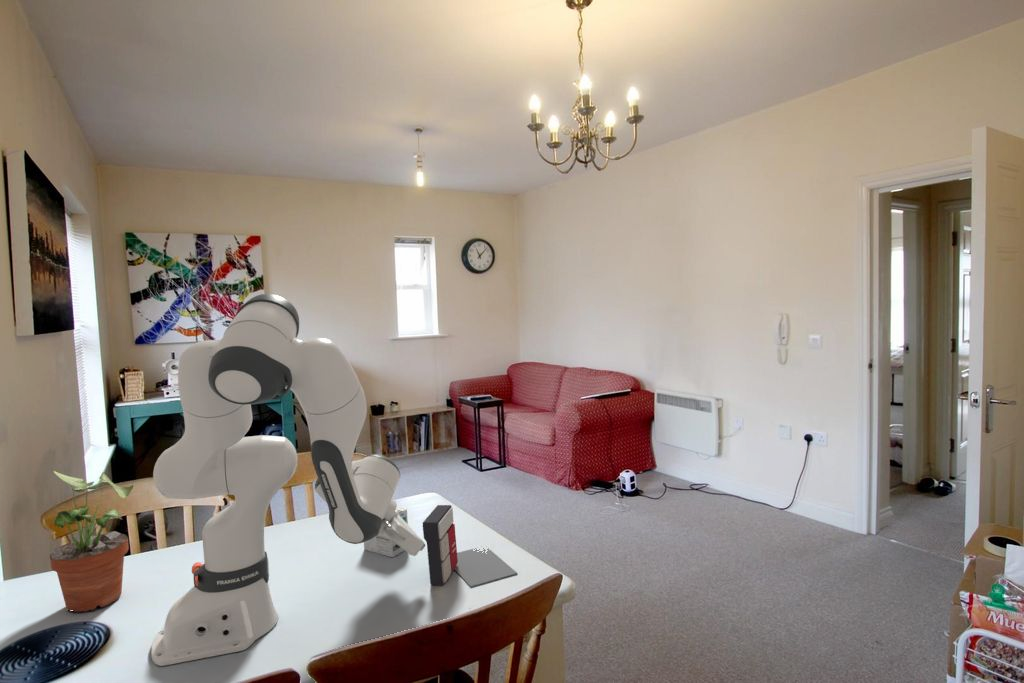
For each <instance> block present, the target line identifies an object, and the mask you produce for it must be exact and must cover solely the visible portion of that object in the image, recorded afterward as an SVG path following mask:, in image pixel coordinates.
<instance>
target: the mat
mask: <svg viewBox="0 0 1024 683" xmlns="http://www.w3.org/2000/svg"><path fill="white" fill-rule="evenodd" d="M476 548H477V547H475V549H476ZM473 549H474V548H471V549H466V550H462V551H459V552H458V551H457V559H458V563H457V564H456V566H455V568H454V569H453V571H454V572H456V573H457V575H458V576H460V577H461V579H462V580H463V581H464V582H465V583H466V584H467V585H468V587H470V588H474V587H477V586H480V585H484V584H488V583H492V582H496V581H498V579H499V580H501V579H502V580H503V579H506V578H508V576H509V577H513V576H516V575H518V572H517V571H516V570H515V569H514V568H512V567H511V566H510V565H509V564H507V563H506V562H505V561H504V560H503V559H502V558H501V557H499V556H498V555H497V554H496V553H495V552H493V550H491V549H490V548H489V547H488V549H487V550H488V551H487V552H486V553H487V554H486V553H485V551H486V550H485V549H484V548H483V549H484V550H483V551H484V552H483V551H479V550H480V549H479V550H477V549H476V550H475V549H474V550H475V551H473ZM489 549H490V550H489ZM477 551H479V552H477ZM482 552H483V553H482ZM505 577H506V578H505Z"/></svg>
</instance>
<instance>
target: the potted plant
mask: <svg viewBox="0 0 1024 683" xmlns="http://www.w3.org/2000/svg"><path fill="white" fill-rule="evenodd" d="M49 470H50V471H51V472H52V473H53V474H54V475H56V477H58V478H60V480H62V481H63V482H65V483H66V484H68V485H71V488H72V489H71V491H72V496H73V503H74V509H70V510H68V511H66V510H65V511H63V510H62V511H59V512H57V516H56V518H55V520H54V523H53V525H54V526H57V527H60V528H61V529H63V528H65V526H66V525H67V528H68V530H69V533H70V535H71V539H72V541H70V542H67V543H65V544H63V545H61V546H59V547H55V548H54V549H53V550H52V551H51V552H50V554H49V560H50V567H51V570H52V571H53V572H56V573H57V577H58V582H59V585H60V589H61V592H62V593H61V594H62V596H63V600H64V603H65V608H66V610H67V609H68V610H73V611H84V612H88V611H87V610H92V611H94V610H95V609H97V608H100V607H101V608H104V607H106V606H108V605H110V604H112V603H113V602H115V601H116V600H118V599H119V598H120V597H121V595H122V591H123V590H122V589H123V577H124V576H123V574H124V560H125V555H126V554H127V553H128V551H129V548H130V547H129V537H128V536H127V534H124V533H121V532H118V531H116V530H115V531H114V530H112V531H107V532H105V533H104V532H103V533H102V531H103V529H105V528H107V523H108V522H109V520H110V519H111V518H114V519H119V520H123V518H122V517H121V515H120V513H119V512H118V511H117V510H116V509H114V508H112V509H109V510H107V511H106V510H105V511H104V512H105V513H103V514H102V517H97V515H98V514H97V512H98V510H99V503H100V499H101V497H102V494H103V490H104V489H105V486H106V485H107V484H109V485H110V486H111V487H112V488H113V489H114V490H115V491H116V492H117V494H118V495H119V497H120V498H122V499H125V498H126V497H129V495H130V494H131V491H132V490H133V489H134V485H130V486H119V485H118V484H115V483H114V482H113V481H111V479H110V478H109V477H108V476H107V474H106V473H104V472H102V473H101V475H100V476H99V478H98V479H99V481H98V482H97V483H96V484H94V483H95V482H94V481H91V482H85V479H83V478H79V477H74V476H70V475H66V474H62V473H60V472H57V471H55V470H53V469H52V468H49ZM103 483H105V484H104V486H103V488H102V491H101V493H100V497H99V500H98V503H97V507H96V510H95V511H94V514H93V516H92V514H89V509H90V506H89V505H88V490H91V491H92V490H97V489H99V488H101V487H102V485H103ZM73 487H74V488H73ZM85 491H86V494H85V506H79V507H78V506H77V501H76V497H75V493H74V492H77V493H83V492H85ZM76 522H77V525H78V526H77V527H78V533H79V534H78V535H79V537H78V538H75V537H74V534H73V532H72V529H71V528H70V526H71V525H74V524H76ZM81 522H82V524H84V523H85V524H84V525H85V526H84V525H82V524H81ZM95 522H96V524H97V525H96V527H95V529H94V526H95ZM89 523H90V524H89ZM69 525H70V526H69ZM98 526H99V527H100V528H99V530H98V532H97V534H96V535H94V533H95V531H96V529H97V528H98ZM83 531H84V533H83ZM83 534H84V536H83ZM105 605H106V606H105ZM103 606H104V607H103ZM93 609H94V610H93Z"/></svg>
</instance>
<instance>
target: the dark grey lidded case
mask: <svg viewBox="0 0 1024 683" xmlns="http://www.w3.org/2000/svg"><path fill="white" fill-rule="evenodd" d="M422 531H423V532H422V533H423V539H424V541H425V542H426V549H427V551H426V552H427V560H428V572H429V584H430V585H431V586H444V584H445V583H447V581H448V579H449V578H450V576H451V574H452V572H453V571H454V568H455V566H456V564H457V563H458V559H457V553H458V549H457V538H456V535H457V534H456V526H455V523H454V510H453V507H452V505H451V504H447V505H446V504H438V505H437V506H435V507H434V509H432V511H431V512H430V514H429V515H428V516H427V517H426V518H425V519H424V520H423V522H422Z"/></svg>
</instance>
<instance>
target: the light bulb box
mask: <svg viewBox="0 0 1024 683" xmlns="http://www.w3.org/2000/svg"><path fill="white" fill-rule="evenodd" d="M396 509H397V510H398V514H399V515H400V516H401V518H402V519H403V520H404V521H405V522H406V523H407V524H408V525H409V523H408V509H406V508H401V507H400V508H399V507H396ZM363 549H364V550H365V551H368V552H372V553H376V554H379V555H383V556H386V557H389V558H394V557H395V556H397V555H399V554H401V553H402V552H406V551H405V550H404V549H402V548H401V547H400V546H398V545H397V544H396V543H395V542H393V541H392V540H391V539H390V538H389V537H388V536H387V534H386V533H384V534H379V533H378V535H377V536H376V537H374V538H372V539H370V540H368V541H366V542H363Z"/></svg>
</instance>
